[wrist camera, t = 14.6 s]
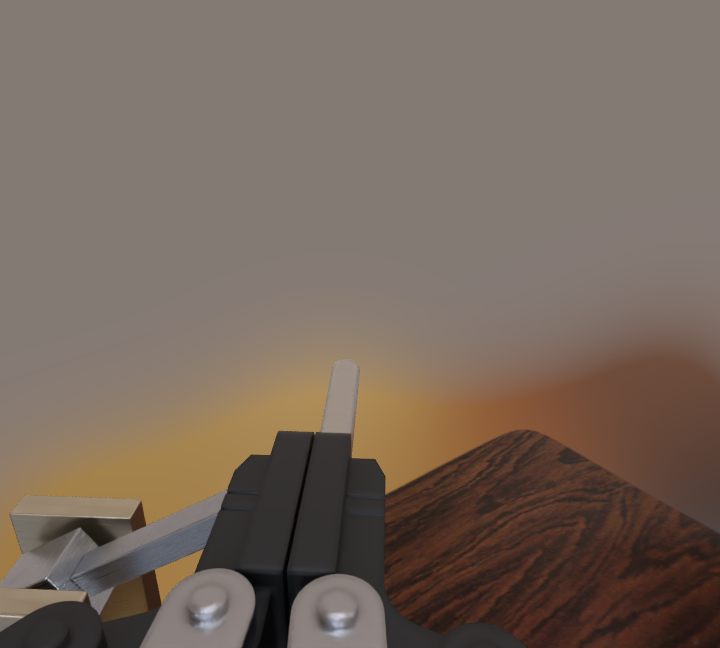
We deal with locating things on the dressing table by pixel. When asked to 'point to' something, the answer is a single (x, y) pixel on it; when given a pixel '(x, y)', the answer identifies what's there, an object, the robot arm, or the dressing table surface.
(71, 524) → the bracket
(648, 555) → the dressing table surface
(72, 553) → the tap lever
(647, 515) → the dressing table surface
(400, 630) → the robot arm
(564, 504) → the dressing table surface
